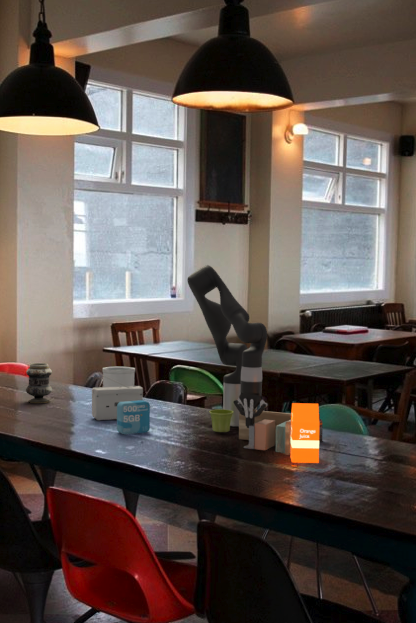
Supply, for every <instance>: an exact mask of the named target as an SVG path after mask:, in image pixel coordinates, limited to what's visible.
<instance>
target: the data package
mask: <svg viewBox="0 0 416 623" xmlns="http://www.w3.org/2000/svg"><path fill="white" fill-rule="evenodd" d="M150 411H151V405H150V403H149V402H148V401H146V400H138V401H125V402H119V403H118V404H117V419H116V429H117V432H118V433H119V434H122V435H131V434H132V435H133V434H143V433H148V432H149V431H150V428H151V423H150V422H151V421H150V420H151V418H150V417H151V416H150V415H151V412H150Z"/></svg>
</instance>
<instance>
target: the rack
mask: <svg viewBox="0 0 416 623" xmlns="http://www.w3.org/2000/svg"><path fill="white" fill-rule="evenodd" d="M257 411H258V409H257V410H256V412H257ZM291 413H292V412H291ZM291 413H290V412H277V411H268V410H267V411H265V410H264V411H263V412H262V413H261V414H260V416H257V417H255V422H254V424H255V423H257V422H259V421H262V420H265V419H266V420H275V444H276V426H277V425H279V424H281V423H284V422H286V421H287V422H286V428H285V453H282V452H281V455H287V456H289V455H291ZM238 439H239V440H245V441H249V428H247V426H246V417H245V416H243V415H241V414H240V412H239V426H238Z"/></svg>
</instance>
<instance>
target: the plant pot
mask: <svg viewBox="0 0 416 623" xmlns="http://www.w3.org/2000/svg"><path fill="white" fill-rule="evenodd" d="M233 413H234V412H233V411H231V410H225V409H222V408H221V409H220V408H219V409H211V410H209V414H210V418H211V426H212V431H213V432H216V433H227V432H230V429H231V426H230V423H231V417H232V414H233Z"/></svg>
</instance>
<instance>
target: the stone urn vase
mask: <svg viewBox="0 0 416 623" xmlns="http://www.w3.org/2000/svg"><path fill="white" fill-rule="evenodd" d="M52 374H53V371H52V369H51V368H50V366H49V363H46V362H31V363H30V364H29V368H28V369H27V370H26V375H27V376H28V385H27V386H26V388H25V392H26V393H27V394H28V395H29V396H31V397H34V398H31V399H29V400H28V401H27V402H28V403H29V402H30V403H29V404H46V403H49V402H51V401H50V399H47V398H45V397H46V396H48V395H50V394H51V393H52V391H53V389H52V387H51V386H50V376H51V375H52Z"/></svg>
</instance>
